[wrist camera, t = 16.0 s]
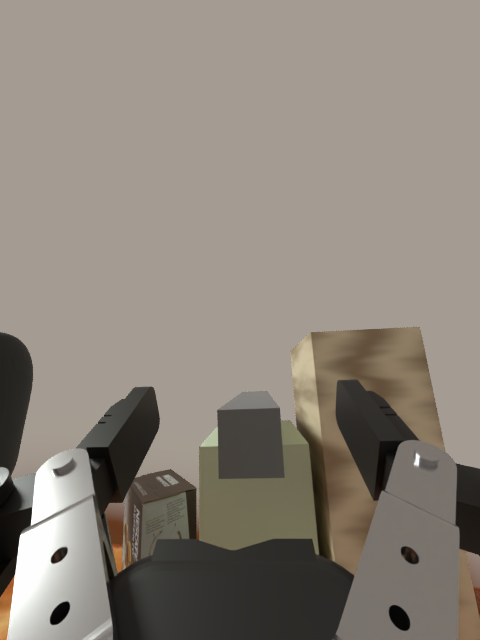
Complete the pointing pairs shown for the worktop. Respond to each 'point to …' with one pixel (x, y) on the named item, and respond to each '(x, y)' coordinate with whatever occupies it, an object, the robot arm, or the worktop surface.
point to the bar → (250, 437)
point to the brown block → (332, 451)
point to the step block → (257, 498)
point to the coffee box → (157, 513)
